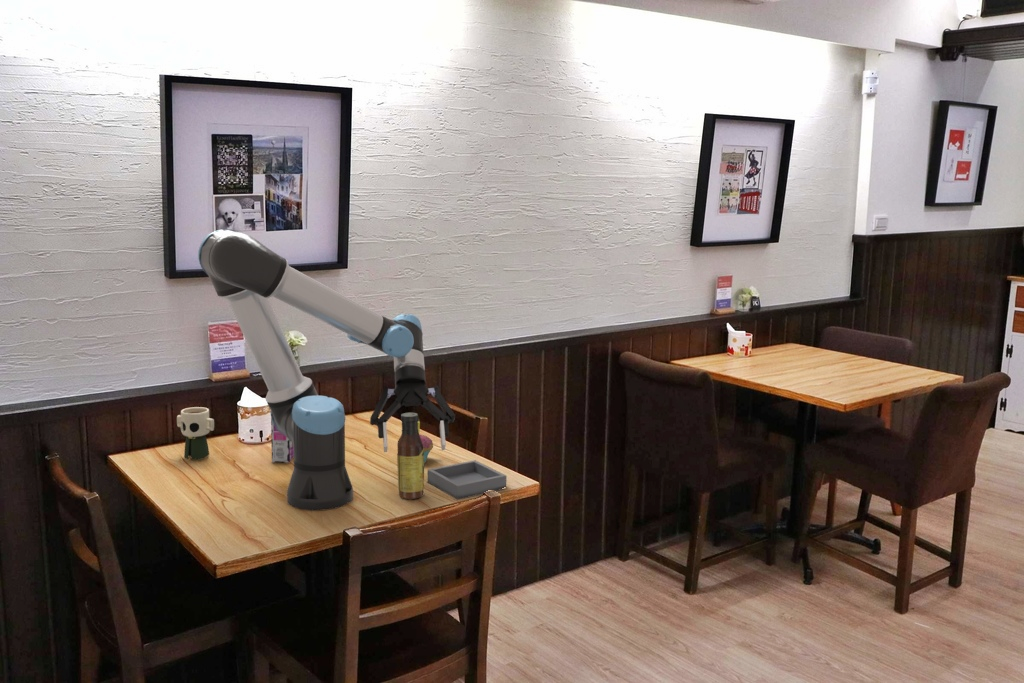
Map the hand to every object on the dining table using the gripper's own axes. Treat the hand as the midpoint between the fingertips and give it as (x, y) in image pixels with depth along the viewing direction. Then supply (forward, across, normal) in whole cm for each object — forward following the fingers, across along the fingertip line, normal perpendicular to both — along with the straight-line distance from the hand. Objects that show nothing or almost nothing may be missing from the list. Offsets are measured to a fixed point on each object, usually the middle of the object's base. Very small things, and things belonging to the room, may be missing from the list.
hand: (414, 448), depth 217 cm
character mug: (-16, +54, -33) cm, 65 cm away
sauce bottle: (+9, +1, -8) cm, 12 cm away
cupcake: (-10, -3, -26) cm, 28 cm away
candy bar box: (-15, +31, -32) cm, 47 cm away
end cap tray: (+5, -13, -11) cm, 18 cm away
